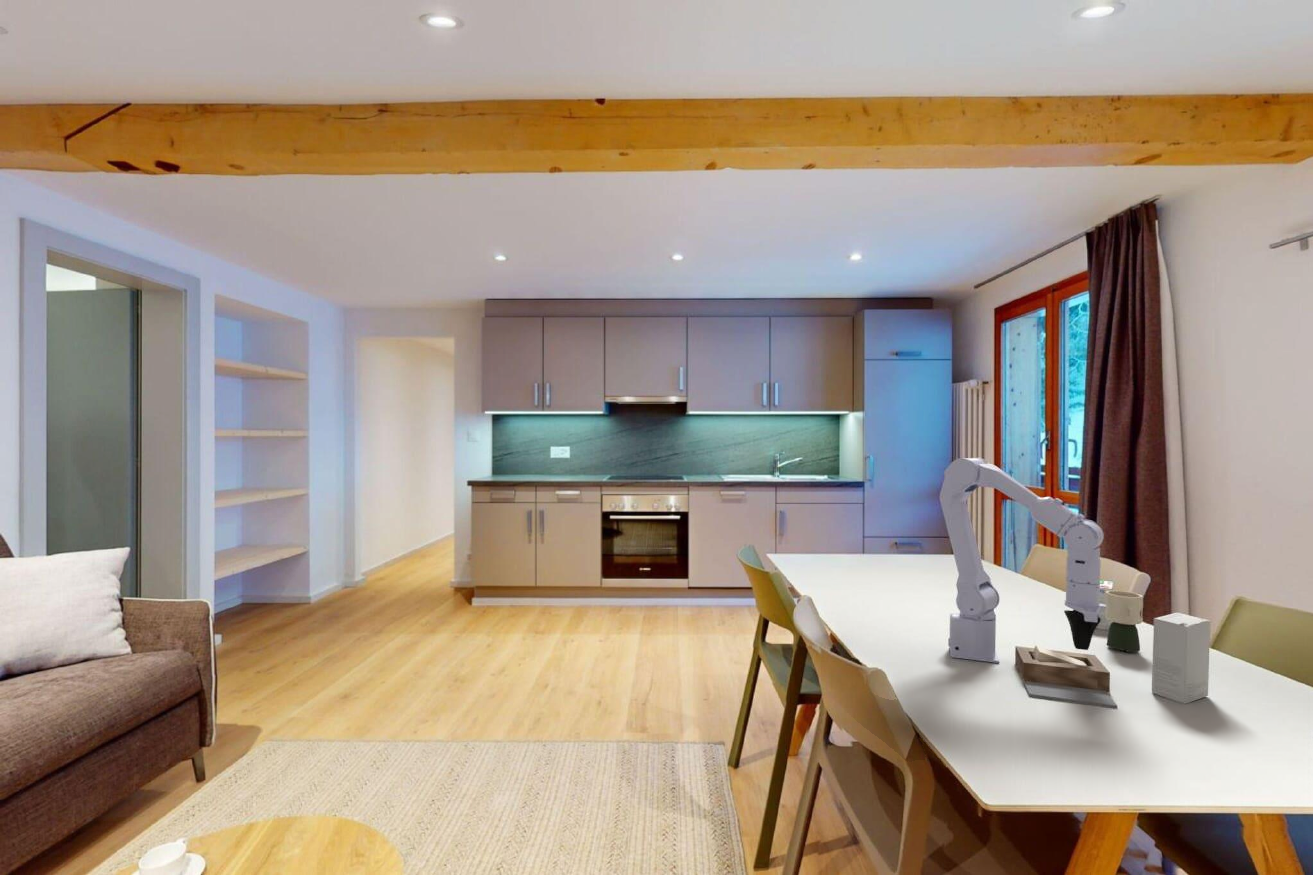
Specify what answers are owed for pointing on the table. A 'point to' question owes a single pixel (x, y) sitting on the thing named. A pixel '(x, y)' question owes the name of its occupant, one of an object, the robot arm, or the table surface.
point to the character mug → (1123, 619)
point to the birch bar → (1054, 656)
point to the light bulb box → (1101, 614)
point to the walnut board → (1063, 670)
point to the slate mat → (1069, 694)
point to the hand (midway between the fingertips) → (1081, 648)
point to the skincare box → (1181, 657)
